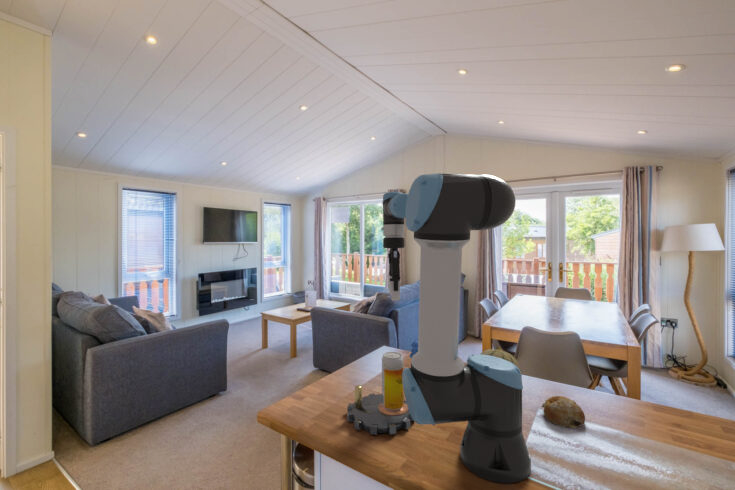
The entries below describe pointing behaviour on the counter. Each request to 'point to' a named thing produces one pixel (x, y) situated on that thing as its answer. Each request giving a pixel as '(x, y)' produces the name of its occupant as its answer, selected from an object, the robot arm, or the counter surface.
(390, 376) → the beer can
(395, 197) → the robot arm
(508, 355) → the cantaloupe
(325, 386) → the counter surface
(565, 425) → the bread roll
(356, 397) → the sprocket
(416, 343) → the grapes
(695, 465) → the counter surface
